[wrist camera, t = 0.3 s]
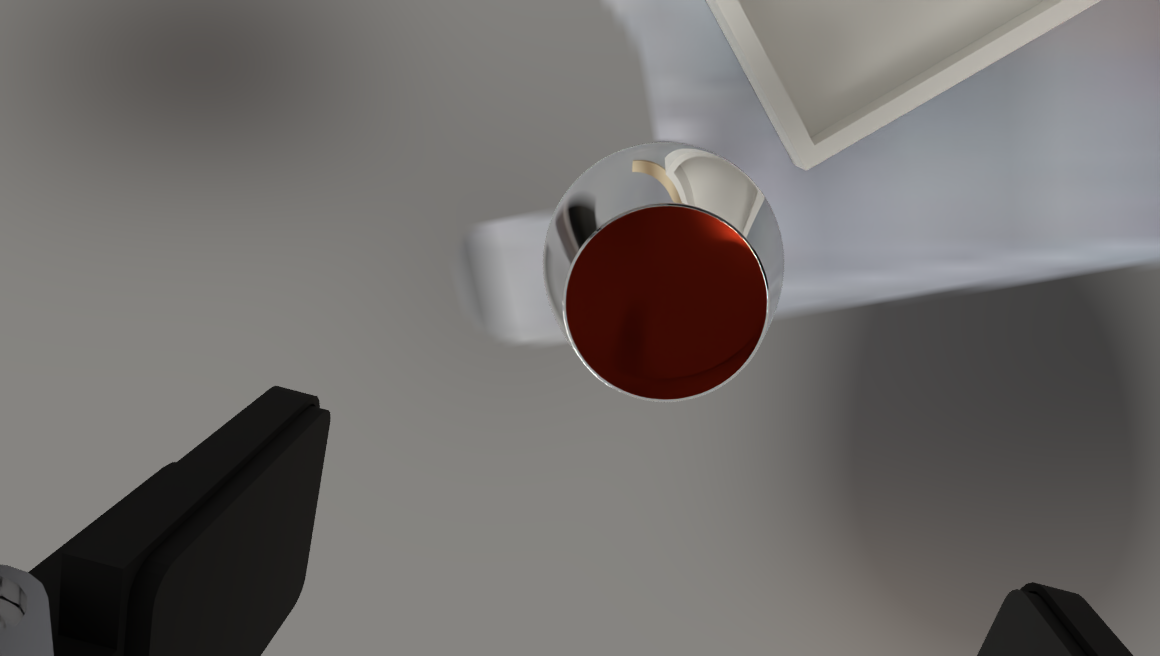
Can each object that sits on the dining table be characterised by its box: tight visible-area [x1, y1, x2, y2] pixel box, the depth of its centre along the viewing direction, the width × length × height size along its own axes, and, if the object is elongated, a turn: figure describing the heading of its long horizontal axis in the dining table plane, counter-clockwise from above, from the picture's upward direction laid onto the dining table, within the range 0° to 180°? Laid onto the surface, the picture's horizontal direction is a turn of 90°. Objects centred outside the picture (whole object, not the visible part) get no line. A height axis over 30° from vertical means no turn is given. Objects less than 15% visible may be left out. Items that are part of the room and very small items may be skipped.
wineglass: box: [543, 142, 784, 402], centre depth 30 cm, size 8×8×18 cm
